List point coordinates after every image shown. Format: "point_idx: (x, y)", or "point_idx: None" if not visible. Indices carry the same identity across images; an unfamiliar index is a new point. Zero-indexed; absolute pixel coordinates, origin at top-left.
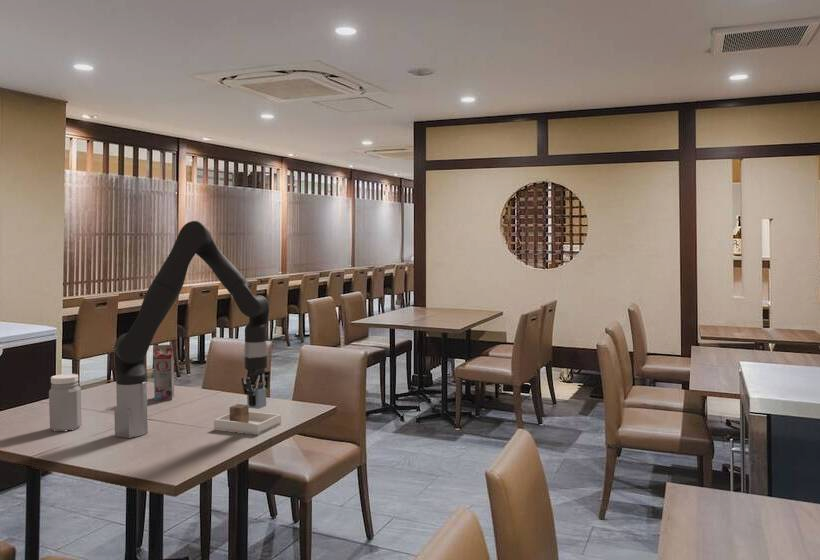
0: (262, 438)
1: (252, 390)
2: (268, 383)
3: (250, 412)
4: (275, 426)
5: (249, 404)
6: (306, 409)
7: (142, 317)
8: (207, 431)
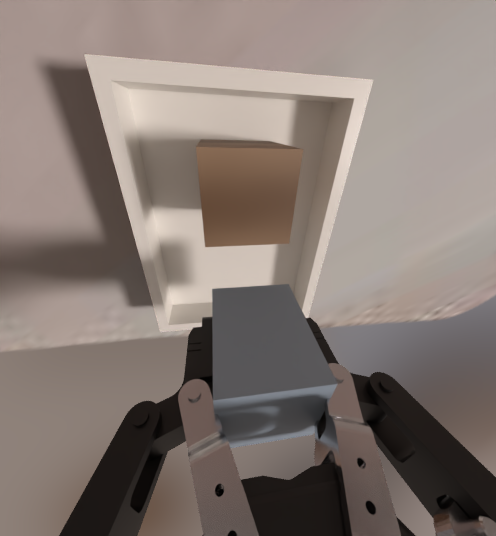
0: (148, 327)
1: (221, 424)
2: (396, 437)
3: (330, 192)
4: None
5: (193, 330)
6: (468, 270)
7: None
8: (64, 42)
